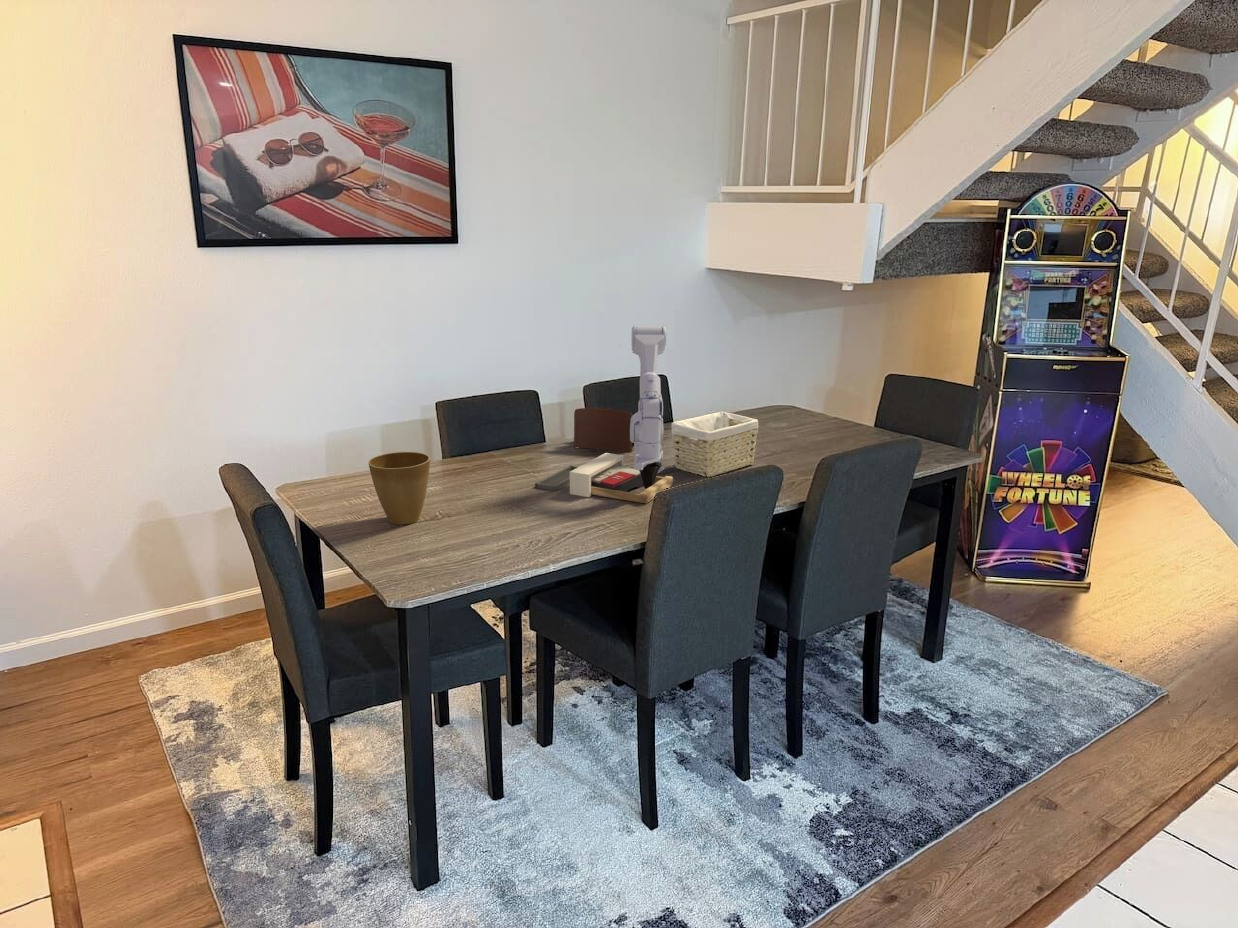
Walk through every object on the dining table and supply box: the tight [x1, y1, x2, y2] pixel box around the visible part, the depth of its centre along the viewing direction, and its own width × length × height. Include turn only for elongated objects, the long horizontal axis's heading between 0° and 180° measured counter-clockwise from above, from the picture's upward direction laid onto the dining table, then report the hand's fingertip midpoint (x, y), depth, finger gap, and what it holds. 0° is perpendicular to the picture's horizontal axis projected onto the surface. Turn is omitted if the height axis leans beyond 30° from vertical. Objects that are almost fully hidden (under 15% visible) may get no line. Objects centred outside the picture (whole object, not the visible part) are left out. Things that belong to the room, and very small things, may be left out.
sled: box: [591, 475, 674, 504], centre depth 247 cm, size 18×21×2 cm
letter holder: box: [573, 407, 634, 453], centre depth 291 cm, size 10×20×14 cm, turn 76°
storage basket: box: [671, 411, 759, 478], centre depth 269 cm, size 24×16×15 cm
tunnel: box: [534, 452, 625, 498], centre depth 253 cm, size 22×18×6 cm
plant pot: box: [368, 451, 431, 526], centre depth 219 cm, size 15×15×16 cm
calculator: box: [591, 465, 644, 492], centre depth 248 cm, size 11×4×15 cm
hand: (648, 488), depth 244 cm, fingers closed
